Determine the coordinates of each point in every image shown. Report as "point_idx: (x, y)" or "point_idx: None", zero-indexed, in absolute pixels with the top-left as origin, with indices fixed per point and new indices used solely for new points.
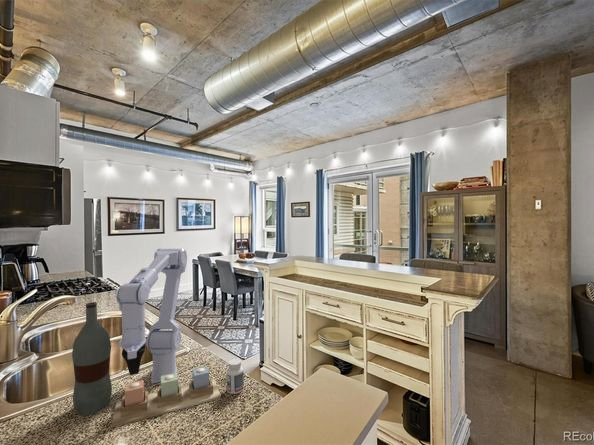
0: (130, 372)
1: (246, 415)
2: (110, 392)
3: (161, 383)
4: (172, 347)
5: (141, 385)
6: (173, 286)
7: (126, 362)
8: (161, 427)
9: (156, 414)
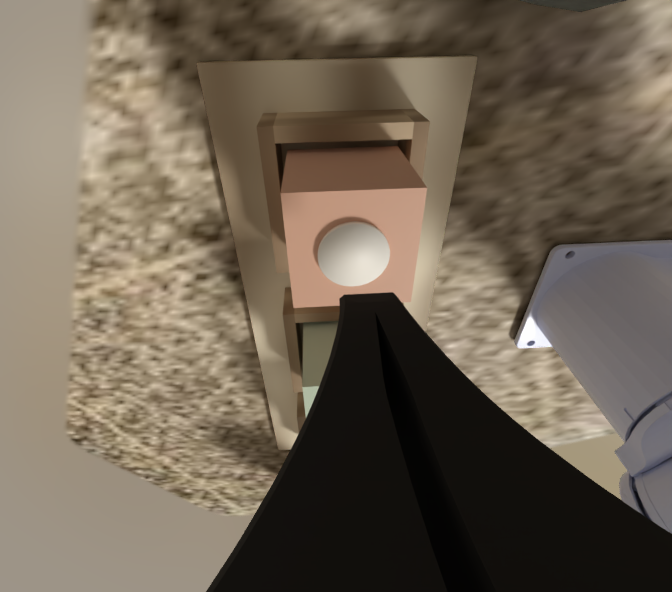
0: (340, 319)
1: (167, 478)
2: (534, 3)
3: (302, 387)
4: (626, 499)
5: (329, 297)
6: None
7: (301, 437)
8: (152, 299)
9: (243, 282)
